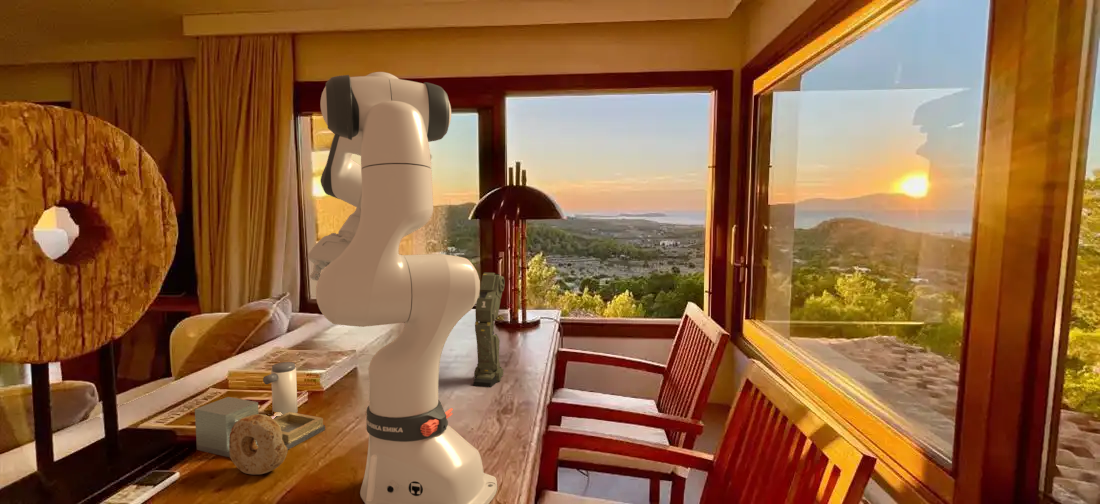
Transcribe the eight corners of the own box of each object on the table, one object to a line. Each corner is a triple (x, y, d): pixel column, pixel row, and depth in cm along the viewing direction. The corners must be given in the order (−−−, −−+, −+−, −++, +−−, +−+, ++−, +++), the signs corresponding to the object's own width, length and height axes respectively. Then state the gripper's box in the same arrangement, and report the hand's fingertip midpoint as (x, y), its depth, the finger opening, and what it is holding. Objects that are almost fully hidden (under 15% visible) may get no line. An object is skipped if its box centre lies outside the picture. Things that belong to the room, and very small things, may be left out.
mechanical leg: (490, 389, 135) (499, 270, 140) (463, 386, 137) (472, 269, 141) (505, 384, 149) (512, 276, 153) (480, 382, 150) (488, 275, 154)
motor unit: (325, 429, 112) (324, 392, 111) (259, 464, 97) (258, 421, 96) (267, 418, 118) (265, 383, 117) (196, 449, 103) (194, 409, 102)
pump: (302, 410, 122) (301, 363, 121) (276, 422, 116) (274, 372, 115) (285, 407, 124) (284, 360, 123) (259, 418, 117) (257, 369, 116)
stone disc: (224, 473, 94) (222, 417, 93) (241, 463, 98) (239, 410, 97) (274, 481, 91) (272, 424, 90) (290, 471, 95) (288, 416, 94)
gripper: (321, 224, 136) (289, 268, 129) (381, 231, 127) (349, 278, 120) (336, 240, 141) (306, 283, 134) (395, 247, 132) (365, 294, 125)
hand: (327, 281), depth 127 cm, fingers open, 8 cm apart
